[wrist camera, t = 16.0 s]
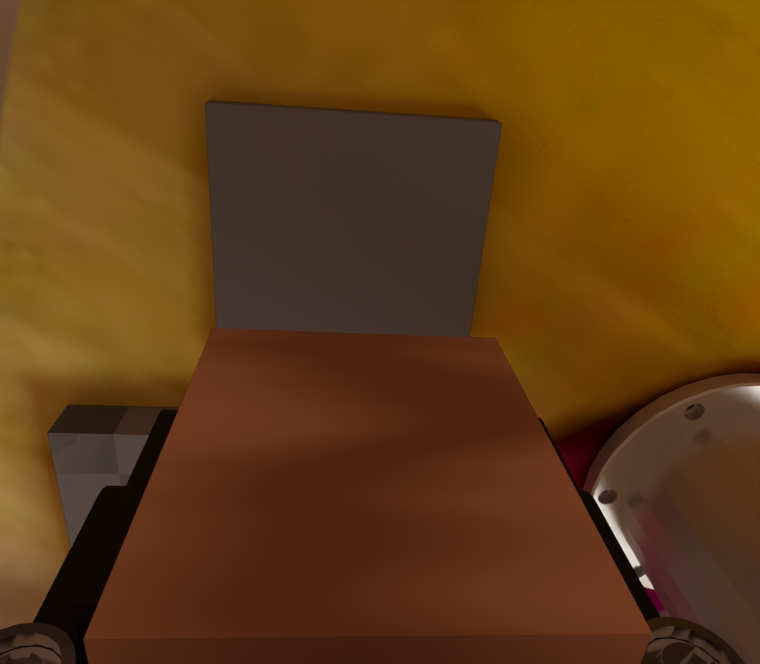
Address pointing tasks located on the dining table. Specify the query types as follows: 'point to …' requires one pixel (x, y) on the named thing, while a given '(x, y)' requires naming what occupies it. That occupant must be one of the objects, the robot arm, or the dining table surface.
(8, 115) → the dining table surface
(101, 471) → the gray box frame
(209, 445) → the block
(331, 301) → the mat
